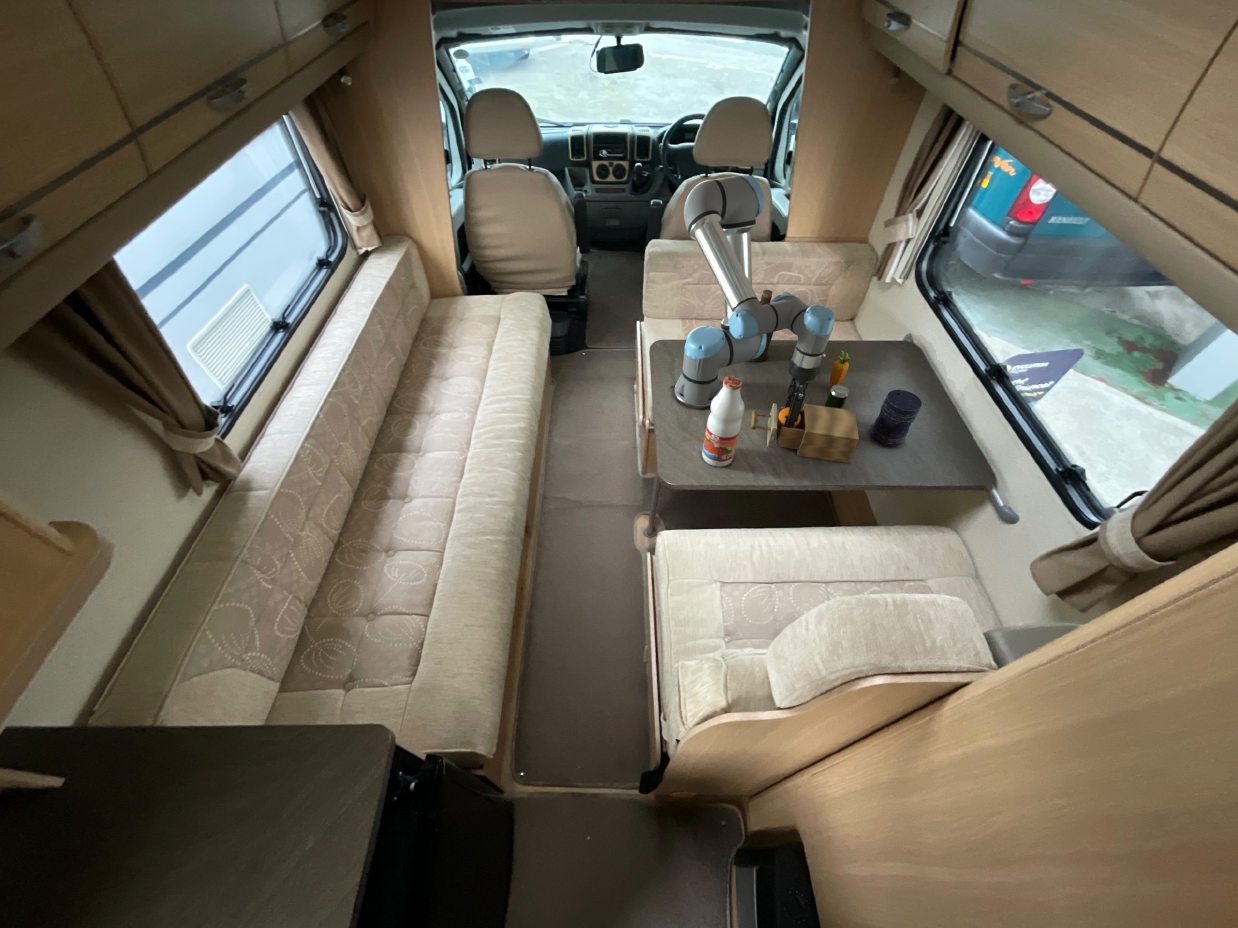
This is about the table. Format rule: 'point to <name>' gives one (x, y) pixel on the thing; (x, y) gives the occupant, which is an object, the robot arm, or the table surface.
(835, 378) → the carrot
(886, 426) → the storage jar
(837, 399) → the beer can
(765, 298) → the olive oil
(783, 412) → the orange
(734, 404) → the fruit juice
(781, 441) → the drawer
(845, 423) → the cabinet
